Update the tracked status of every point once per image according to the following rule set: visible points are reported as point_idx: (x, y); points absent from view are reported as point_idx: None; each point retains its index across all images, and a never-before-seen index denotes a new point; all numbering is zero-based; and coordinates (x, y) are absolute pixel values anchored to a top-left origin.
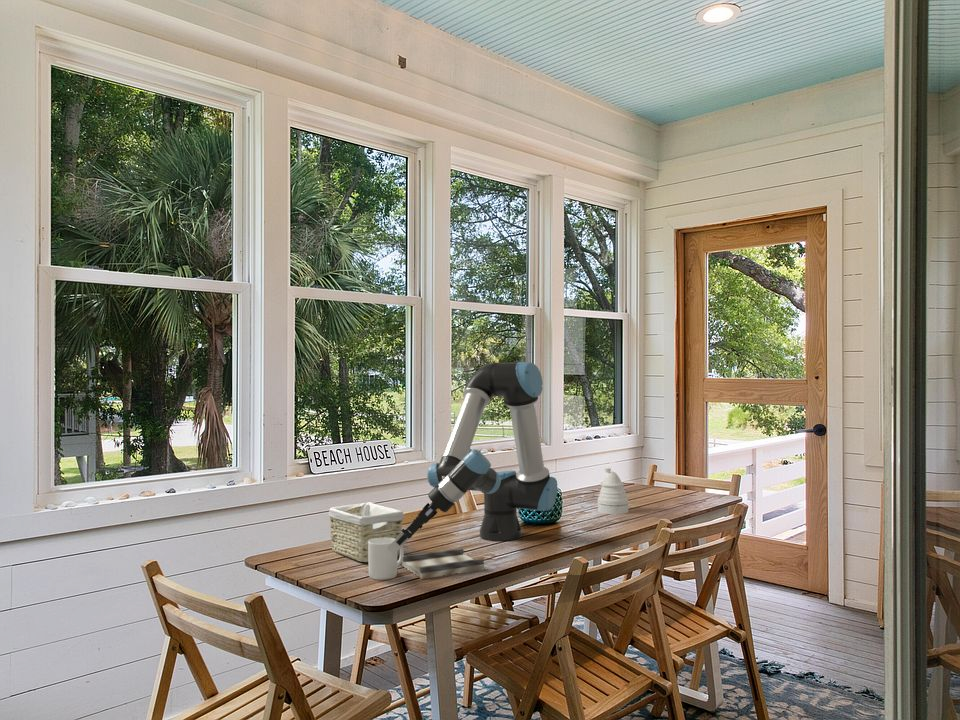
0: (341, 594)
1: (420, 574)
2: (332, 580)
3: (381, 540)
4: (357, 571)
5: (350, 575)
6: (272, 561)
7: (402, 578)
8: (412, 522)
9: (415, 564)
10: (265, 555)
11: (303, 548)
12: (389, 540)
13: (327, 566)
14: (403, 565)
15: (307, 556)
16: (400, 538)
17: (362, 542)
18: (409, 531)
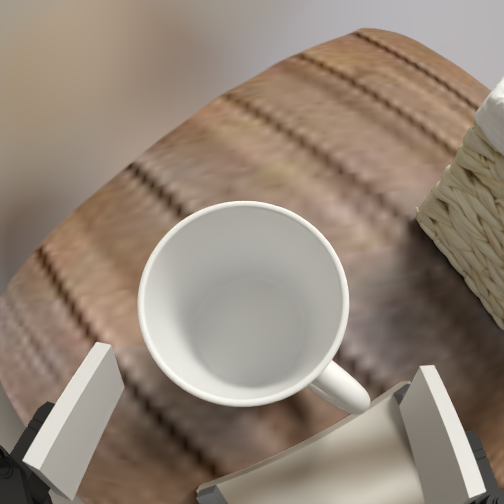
0: (64, 224)
1: (209, 484)
2: (205, 165)
3: (334, 277)
4: (316, 220)
5: None
6: (374, 43)
7: (210, 413)
8: (473, 498)
9: (347, 453)
10: (409, 38)
11: (479, 87)
12: (333, 335)
13: (363, 129)
14: (390, 389)
15: (434, 89)
16: (26, 432)
17: (446, 179)
18: (432, 463)
